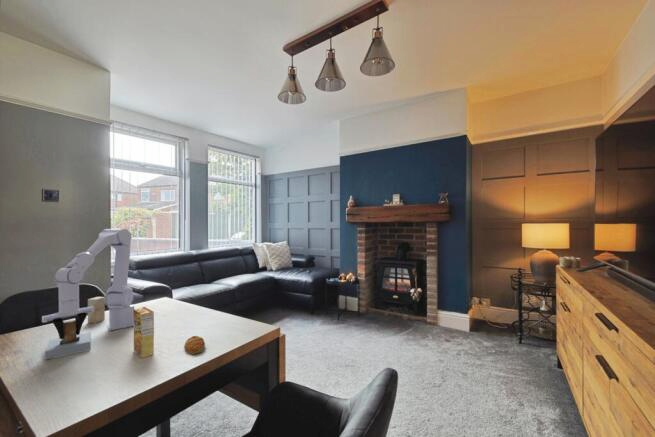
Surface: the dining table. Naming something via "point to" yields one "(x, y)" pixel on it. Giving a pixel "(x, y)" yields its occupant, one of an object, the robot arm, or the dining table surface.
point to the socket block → (68, 346)
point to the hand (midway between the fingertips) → (69, 336)
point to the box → (96, 310)
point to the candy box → (143, 332)
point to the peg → (69, 332)
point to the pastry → (194, 345)
